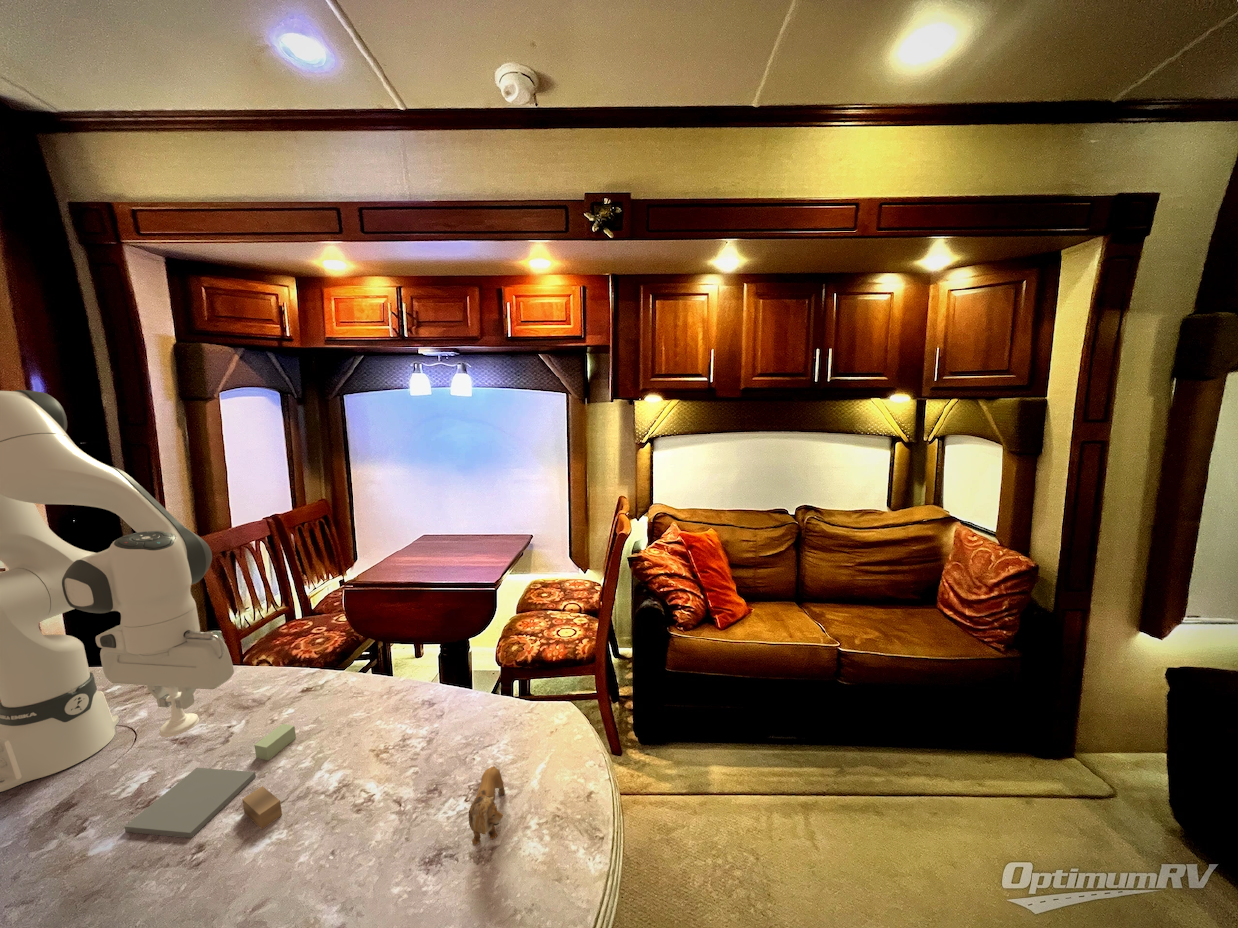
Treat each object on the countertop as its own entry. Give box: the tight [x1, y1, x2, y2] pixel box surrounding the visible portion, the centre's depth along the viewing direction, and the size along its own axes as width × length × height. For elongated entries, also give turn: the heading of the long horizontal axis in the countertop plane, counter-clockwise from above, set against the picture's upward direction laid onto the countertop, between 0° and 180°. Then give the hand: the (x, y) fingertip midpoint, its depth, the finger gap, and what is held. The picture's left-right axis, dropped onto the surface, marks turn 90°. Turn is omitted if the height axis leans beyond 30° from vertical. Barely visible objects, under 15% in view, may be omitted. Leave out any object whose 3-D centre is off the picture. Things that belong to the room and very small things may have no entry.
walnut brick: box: [241, 785, 283, 830], centre depth 79 cm, size 6×3×3 cm, turn 61°
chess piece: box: [159, 686, 200, 738], centre depth 78 cm, size 5×5×10 cm
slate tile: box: [124, 767, 257, 839], centre depth 81 cm, size 12×12×1 cm
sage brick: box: [253, 723, 297, 761], centre depth 94 cm, size 6×3×3 cm, turn 166°
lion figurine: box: [468, 765, 506, 845], centre depth 77 cm, size 15×5×9 cm, turn 14°
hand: (176, 705), depth 78 cm, fingers closed on chess piece
